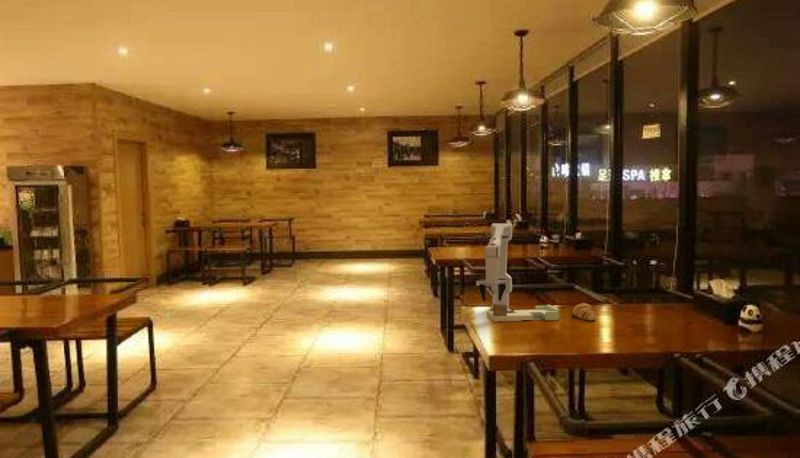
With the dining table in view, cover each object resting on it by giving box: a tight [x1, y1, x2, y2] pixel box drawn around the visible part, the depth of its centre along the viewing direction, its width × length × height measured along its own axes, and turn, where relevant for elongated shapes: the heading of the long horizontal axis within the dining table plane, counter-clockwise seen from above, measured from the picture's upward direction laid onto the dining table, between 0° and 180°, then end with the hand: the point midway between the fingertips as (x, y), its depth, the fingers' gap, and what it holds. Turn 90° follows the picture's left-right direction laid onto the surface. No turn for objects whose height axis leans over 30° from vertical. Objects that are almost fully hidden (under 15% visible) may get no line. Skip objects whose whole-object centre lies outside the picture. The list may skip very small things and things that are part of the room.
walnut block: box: [492, 302, 508, 316], centre depth 274 cm, size 5×5×5 cm
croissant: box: [572, 302, 597, 322], centre depth 281 cm, size 21×10×8 cm, turn 5°
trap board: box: [486, 304, 560, 323], centre depth 279 cm, size 14×31×5 cm, turn 98°
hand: (491, 300), depth 272 cm, fingers open, 7 cm apart
